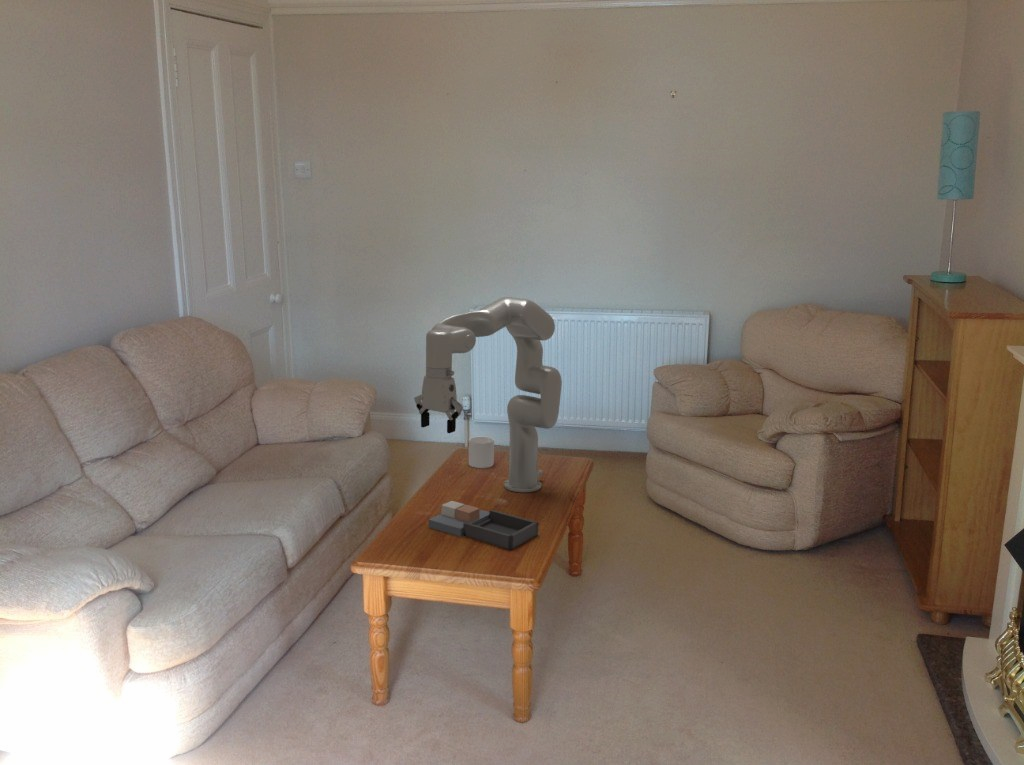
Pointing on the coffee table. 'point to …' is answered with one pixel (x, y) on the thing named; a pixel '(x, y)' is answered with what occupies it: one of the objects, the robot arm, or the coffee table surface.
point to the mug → (481, 452)
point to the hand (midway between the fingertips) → (438, 429)
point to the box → (502, 530)
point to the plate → (454, 523)
